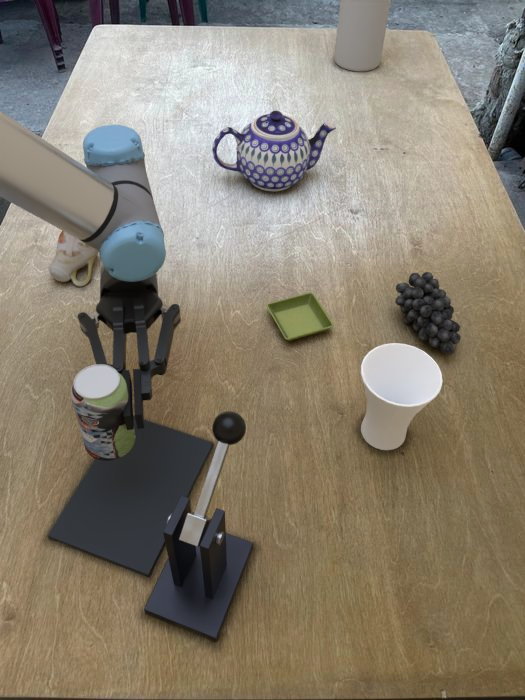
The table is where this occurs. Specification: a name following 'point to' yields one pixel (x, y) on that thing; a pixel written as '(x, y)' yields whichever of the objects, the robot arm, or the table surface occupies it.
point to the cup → (396, 391)
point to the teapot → (274, 150)
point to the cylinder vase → (361, 33)
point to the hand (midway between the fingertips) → (134, 422)
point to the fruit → (429, 311)
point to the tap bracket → (198, 575)
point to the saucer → (299, 316)
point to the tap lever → (213, 475)
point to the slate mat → (132, 498)
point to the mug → (72, 259)
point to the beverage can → (102, 412)
